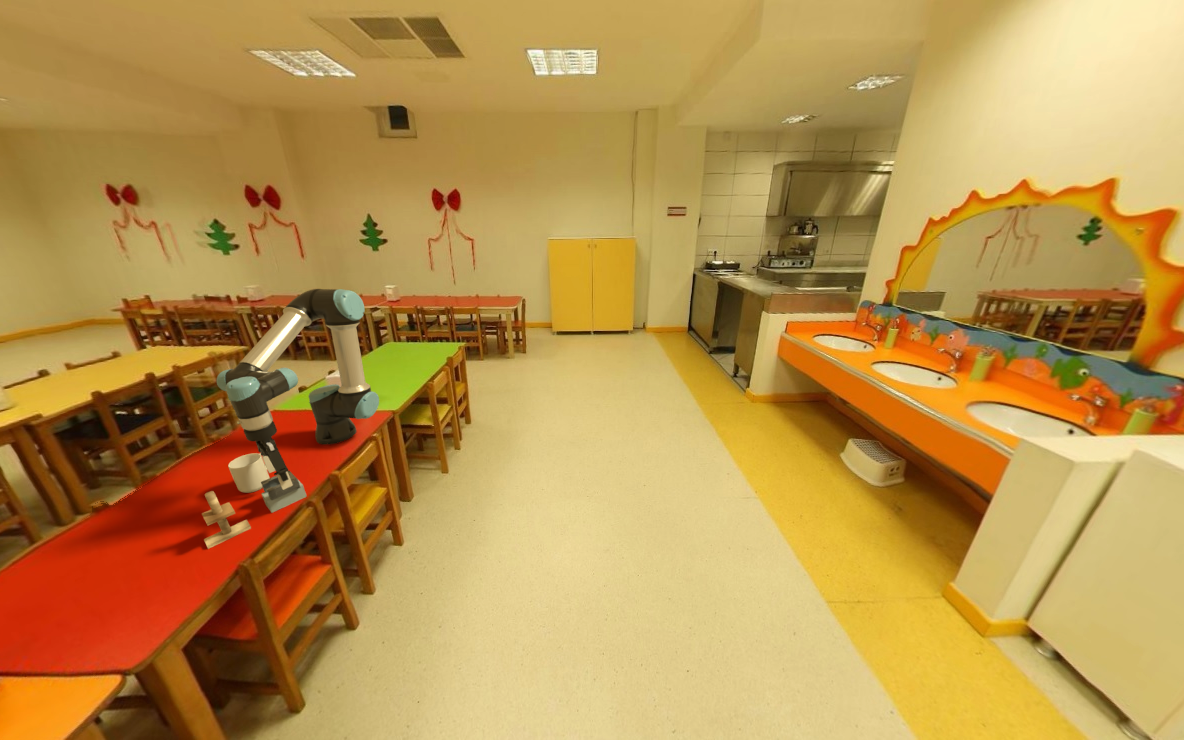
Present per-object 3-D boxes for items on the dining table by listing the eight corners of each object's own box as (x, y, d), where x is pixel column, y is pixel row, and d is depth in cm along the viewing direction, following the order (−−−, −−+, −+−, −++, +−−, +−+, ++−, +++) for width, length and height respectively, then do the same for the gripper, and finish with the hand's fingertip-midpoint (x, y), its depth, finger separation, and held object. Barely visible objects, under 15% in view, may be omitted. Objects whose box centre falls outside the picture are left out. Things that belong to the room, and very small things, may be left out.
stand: (246, 520, 121) (229, 480, 115) (252, 529, 118) (234, 488, 112) (204, 540, 114) (183, 498, 108) (209, 550, 110) (187, 507, 104)
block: (300, 489, 135) (296, 478, 133) (306, 496, 132) (302, 484, 130) (265, 505, 128) (261, 493, 126) (271, 512, 125) (266, 500, 123)
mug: (257, 494, 133) (246, 468, 128) (232, 494, 133) (220, 468, 128) (283, 473, 144) (274, 448, 140) (260, 472, 144) (250, 448, 140)
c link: (292, 478, 133) (289, 470, 132) (300, 487, 129) (297, 479, 127) (263, 490, 127) (260, 482, 126) (271, 500, 123) (268, 491, 122)
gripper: (232, 417, 123) (255, 469, 131) (255, 444, 109) (279, 501, 118) (260, 408, 128) (281, 459, 137) (286, 433, 114) (307, 488, 123)
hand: (280, 478), depth 127 cm, fingers open, 13 cm apart
